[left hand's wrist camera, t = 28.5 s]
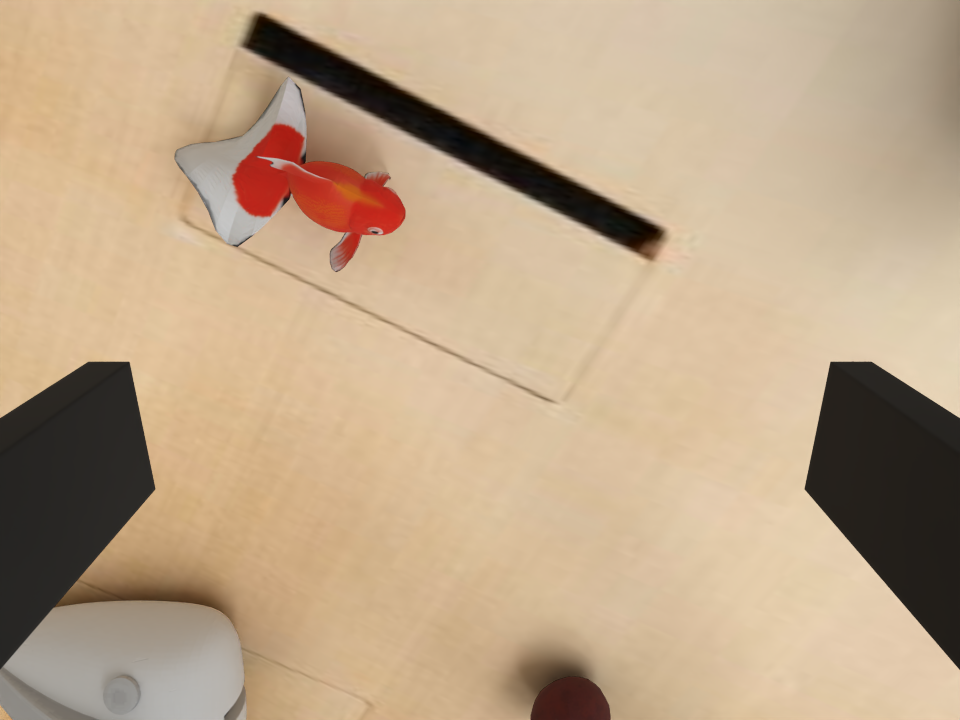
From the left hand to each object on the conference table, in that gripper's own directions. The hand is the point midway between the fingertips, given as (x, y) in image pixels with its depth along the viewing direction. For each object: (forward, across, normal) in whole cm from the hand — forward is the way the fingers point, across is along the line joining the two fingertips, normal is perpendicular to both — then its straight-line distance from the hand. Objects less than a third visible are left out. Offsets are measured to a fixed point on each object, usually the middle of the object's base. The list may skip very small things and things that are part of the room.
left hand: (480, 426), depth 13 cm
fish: (+37, -12, +1) cm, 39 cm away
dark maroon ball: (+37, +8, -47) cm, 60 cm away
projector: (+37, -33, -42) cm, 65 cm away
